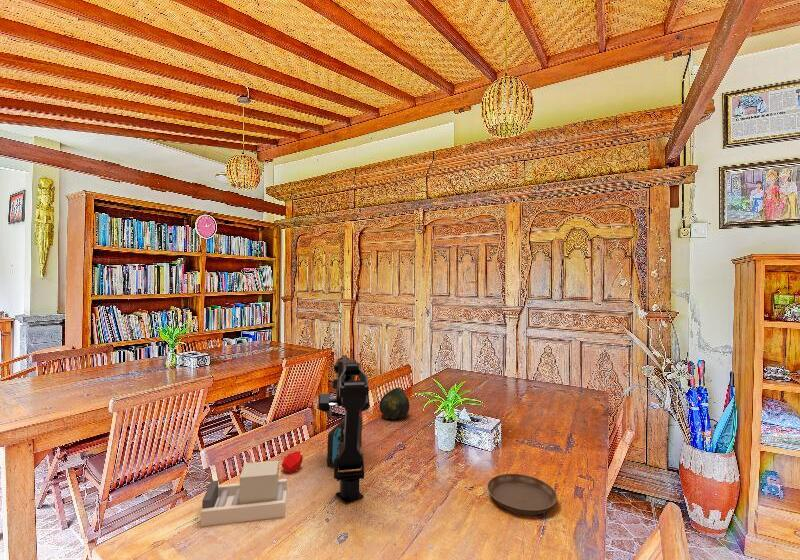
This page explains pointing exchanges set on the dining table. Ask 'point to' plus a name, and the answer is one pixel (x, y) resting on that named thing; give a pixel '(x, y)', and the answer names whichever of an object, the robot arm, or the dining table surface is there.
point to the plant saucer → (522, 493)
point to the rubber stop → (210, 495)
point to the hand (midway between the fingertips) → (342, 417)
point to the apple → (292, 462)
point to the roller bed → (243, 506)
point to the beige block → (259, 482)
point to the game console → (339, 440)
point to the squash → (394, 404)
